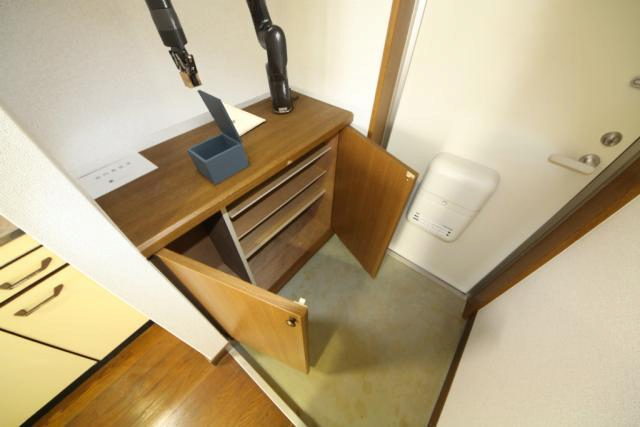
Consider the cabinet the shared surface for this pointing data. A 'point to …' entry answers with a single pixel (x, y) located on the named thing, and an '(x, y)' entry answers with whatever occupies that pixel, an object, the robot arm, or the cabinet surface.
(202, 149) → the chest
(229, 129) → the lid
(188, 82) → the block
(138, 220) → the cabinet surface
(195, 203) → the cabinet surface
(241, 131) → the white triangular panel
